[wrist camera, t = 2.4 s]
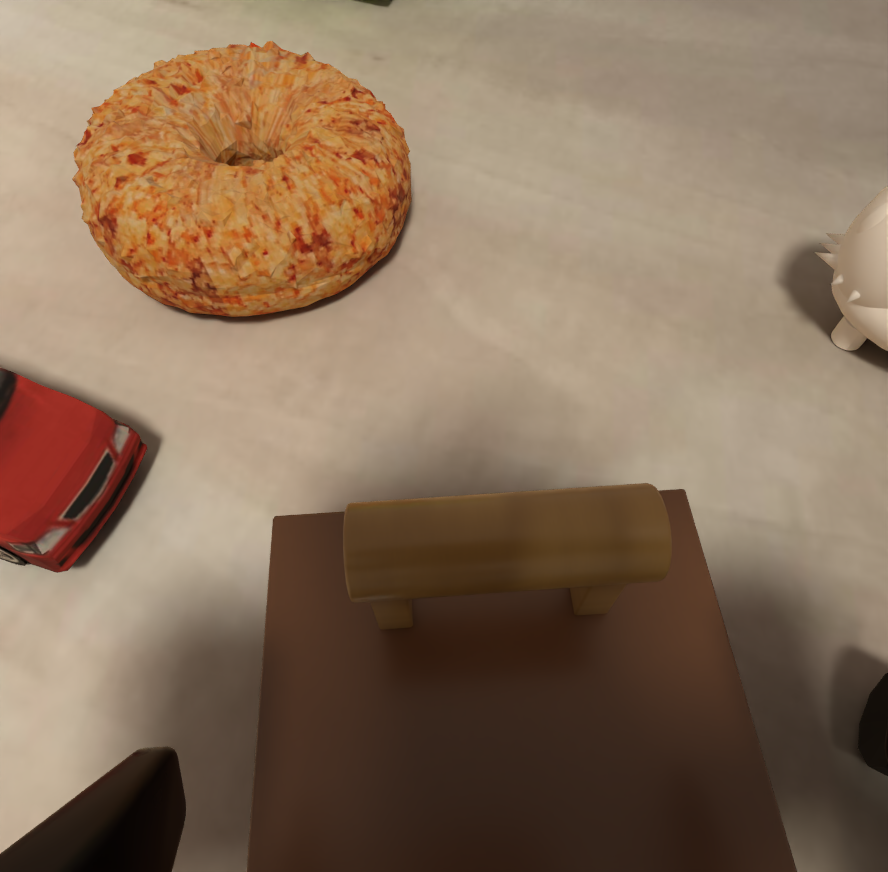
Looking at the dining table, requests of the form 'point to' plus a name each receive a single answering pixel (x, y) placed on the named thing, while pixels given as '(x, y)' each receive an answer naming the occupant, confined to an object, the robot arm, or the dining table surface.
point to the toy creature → (861, 277)
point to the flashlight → (875, 728)
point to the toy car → (58, 472)
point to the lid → (504, 693)
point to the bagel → (243, 180)
